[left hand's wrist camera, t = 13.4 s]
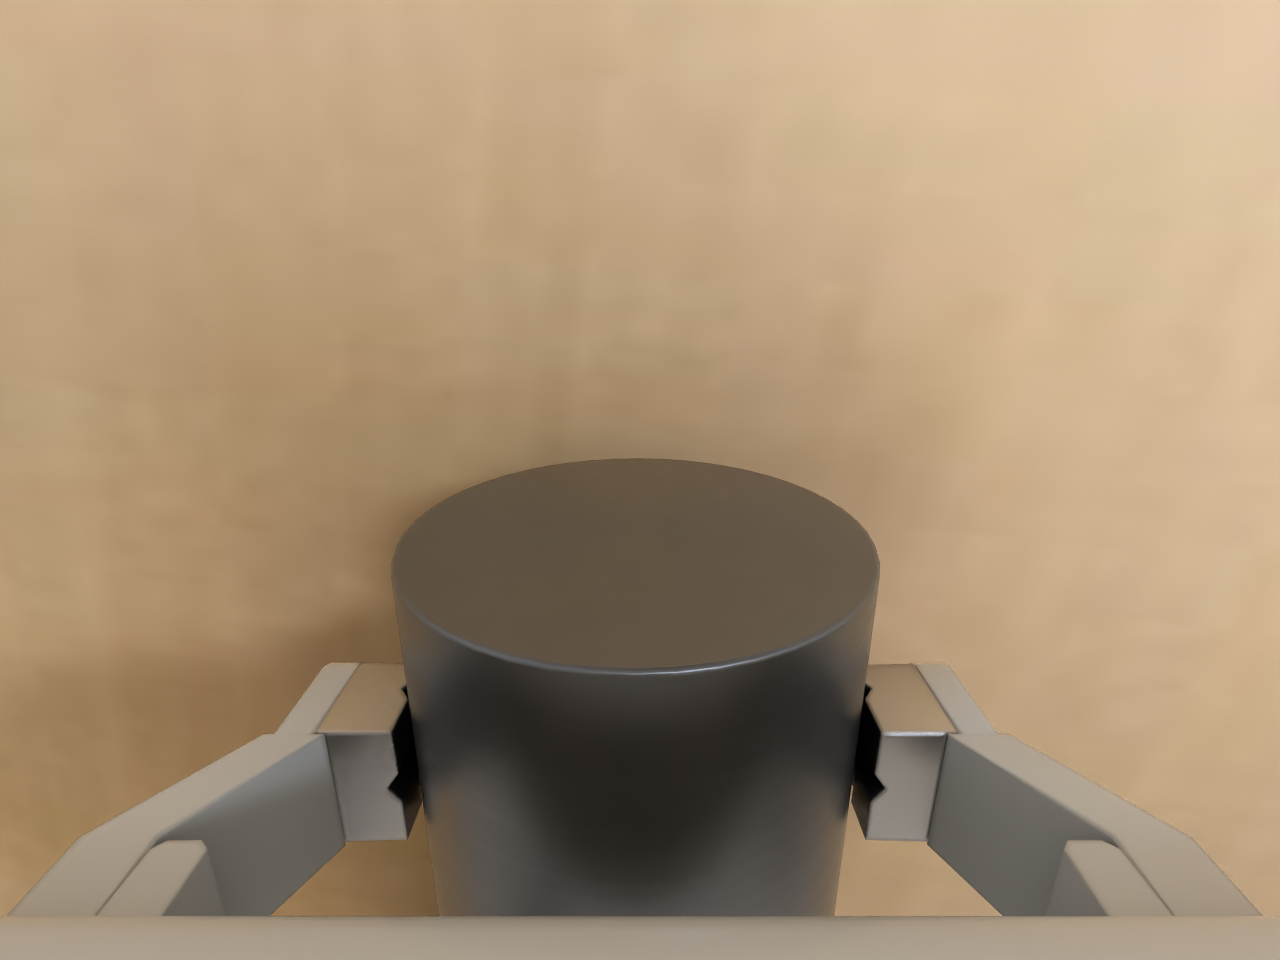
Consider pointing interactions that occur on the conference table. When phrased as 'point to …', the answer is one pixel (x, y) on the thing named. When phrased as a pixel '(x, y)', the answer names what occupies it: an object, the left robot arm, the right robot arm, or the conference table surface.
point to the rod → (635, 689)
